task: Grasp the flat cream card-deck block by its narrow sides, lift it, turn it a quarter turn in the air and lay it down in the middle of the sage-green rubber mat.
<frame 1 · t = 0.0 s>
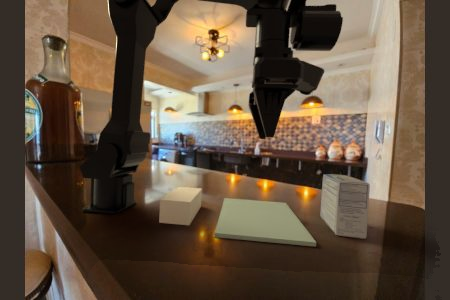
hand: (265, 138, 33), 15 cm above the worktop, fingers open, 9 cm apart
medicine box: (339, 228, 32), on the worktop
mat: (258, 217, 34), on the worktop
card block: (182, 214, 34), on the worktop
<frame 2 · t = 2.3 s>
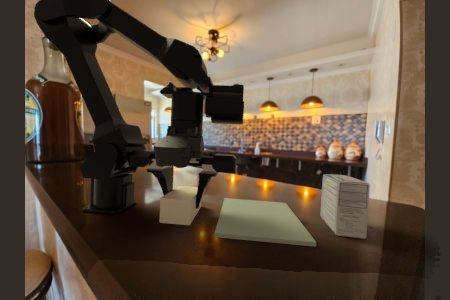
hand: (183, 206, 34), 1 cm above the worktop, fingers closed on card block, 5 cm apart
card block: (182, 213, 34), on the worktop, touching gripper
everything else where it was.
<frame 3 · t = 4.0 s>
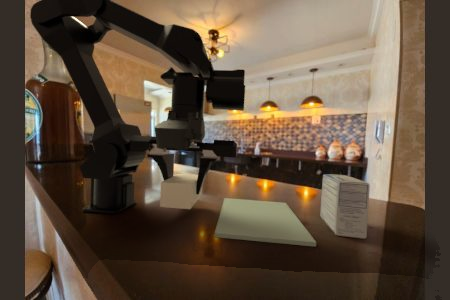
hand: (183, 192, 34), 4 cm above the worktop, fingers closed on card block, 5 cm apart
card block: (183, 199, 34), point 3 cm above the worktop, touching gripper
everything else where it was.
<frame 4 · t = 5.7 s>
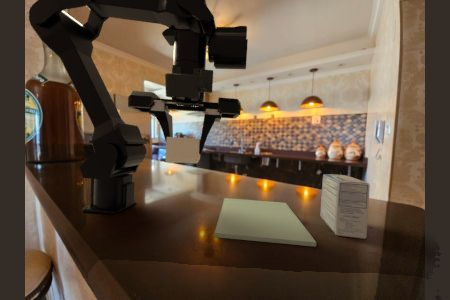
hand: (185, 153, 34), 11 cm above the worktop, fingers closed on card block, 5 cm apart
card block: (185, 160, 34), point 10 cm above the worktop, touching gripper
everything else where it was.
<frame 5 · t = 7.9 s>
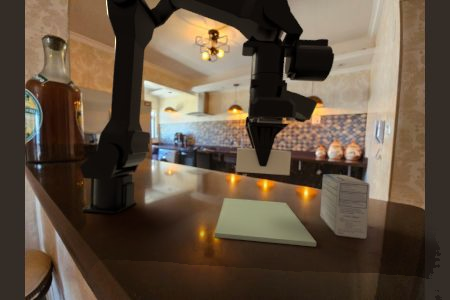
hand: (261, 164, 34), 10 cm above the worktop, fingers closed on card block, 5 cm apart
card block: (260, 171, 34), point 9 cm above the worktop, touching gripper
everything else where it was.
when the fingers open (3 cm above the worktop, at t = 9.4 s): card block stays where it is, resting on mat.
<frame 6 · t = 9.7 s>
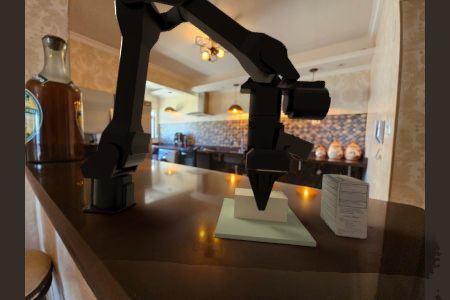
hand: (258, 202, 34), 3 cm above the worktop, fingers open, 8 cm apart
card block: (258, 214, 34), point 1 cm above the worktop, touching mat
everything else where it was.
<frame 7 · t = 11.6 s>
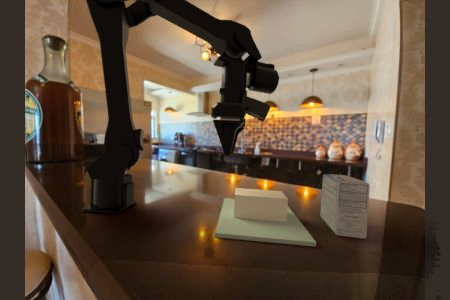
hand: (229, 154, 43), 11 cm above the worktop, fingers open, 9 cm apart
nothing on the worktop moved.
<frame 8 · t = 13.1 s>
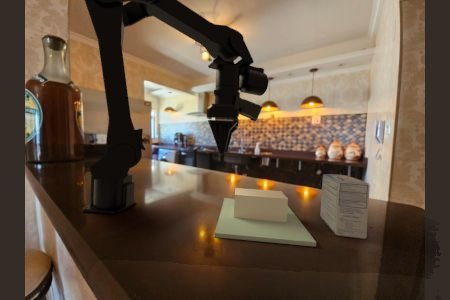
hand: (223, 153, 45), 11 cm above the worktop, fingers open, 9 cm apart
nothing on the worktop moved.
at the end: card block inside the target area on the mat (0.0 cm from its centre), point 0.6 cm above the mat's base; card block tilted 0°; the gripper is holding nothing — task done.
